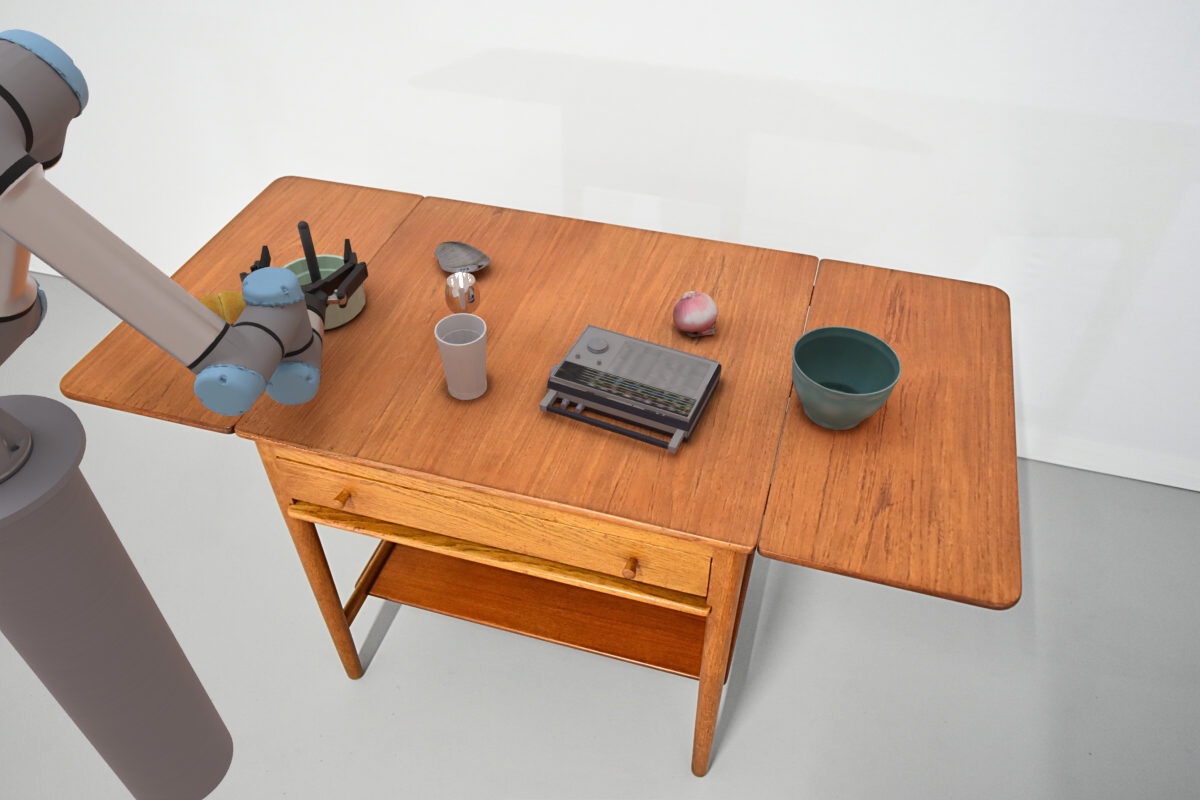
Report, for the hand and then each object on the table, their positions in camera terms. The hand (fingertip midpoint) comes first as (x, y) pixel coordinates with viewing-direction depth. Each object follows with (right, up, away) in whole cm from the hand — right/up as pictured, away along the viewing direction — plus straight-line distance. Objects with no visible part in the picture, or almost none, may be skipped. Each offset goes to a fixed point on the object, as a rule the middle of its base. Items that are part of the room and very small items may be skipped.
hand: (307, 248), depth 154 cm
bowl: (0, -9, +7) cm, 12 cm away
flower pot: (+87, -28, -11) cm, 92 cm away
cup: (+29, -24, -8) cm, 38 cm away
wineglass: (+27, -15, +2) cm, 31 cm away
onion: (+67, -14, +4) cm, 68 cm away
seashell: (+24, -1, +17) cm, 29 cm away
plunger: (0, -9, +7) cm, 11 cm away
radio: (+55, -26, -9) cm, 61 cm away
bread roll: (-17, -11, +5) cm, 21 cm away
